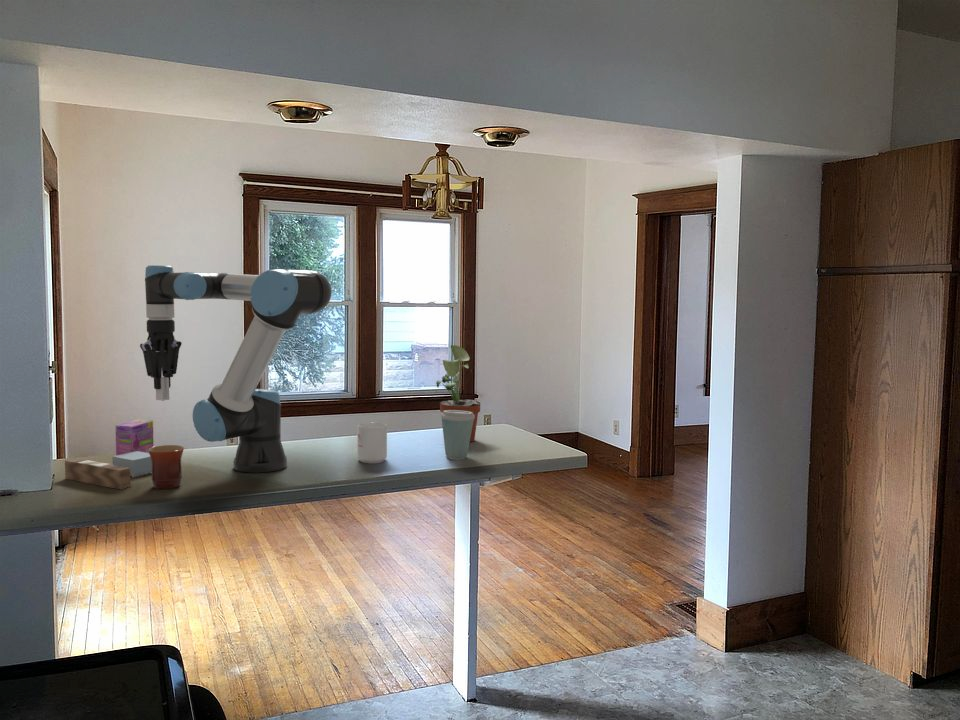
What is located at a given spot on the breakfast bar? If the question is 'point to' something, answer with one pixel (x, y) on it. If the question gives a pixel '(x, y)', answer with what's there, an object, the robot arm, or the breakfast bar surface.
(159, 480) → the mug
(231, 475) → the breakfast bar surface
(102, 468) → the board
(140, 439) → the box
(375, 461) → the mug
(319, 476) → the breakfast bar surface
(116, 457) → the block
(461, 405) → the potted plant
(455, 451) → the disposable coffee cup
